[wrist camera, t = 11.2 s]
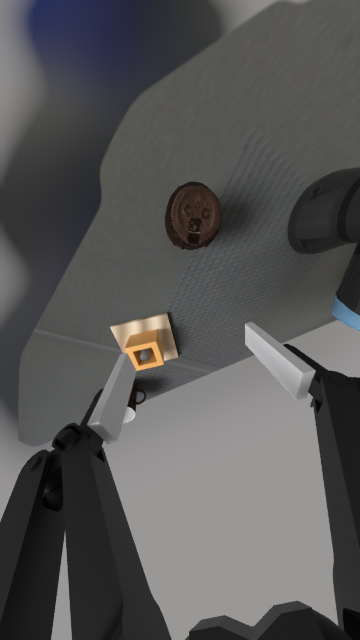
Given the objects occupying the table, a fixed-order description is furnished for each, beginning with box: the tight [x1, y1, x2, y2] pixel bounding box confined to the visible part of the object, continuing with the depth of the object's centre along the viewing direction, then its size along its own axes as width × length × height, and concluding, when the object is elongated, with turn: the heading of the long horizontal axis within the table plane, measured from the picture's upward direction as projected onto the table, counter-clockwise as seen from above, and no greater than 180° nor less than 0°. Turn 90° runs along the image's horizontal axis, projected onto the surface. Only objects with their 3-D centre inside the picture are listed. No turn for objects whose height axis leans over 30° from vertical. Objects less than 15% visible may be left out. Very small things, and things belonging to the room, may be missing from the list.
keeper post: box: [110, 313, 178, 361], centre depth 37 cm, size 16×16×7 cm
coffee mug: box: [123, 381, 146, 423], centre depth 43 cm, size 12×9×10 cm
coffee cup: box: [165, 182, 222, 250], centre depth 24 cm, size 9×8×13 cm
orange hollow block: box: [124, 329, 164, 371], centre depth 37 cm, size 8×8×6 cm
